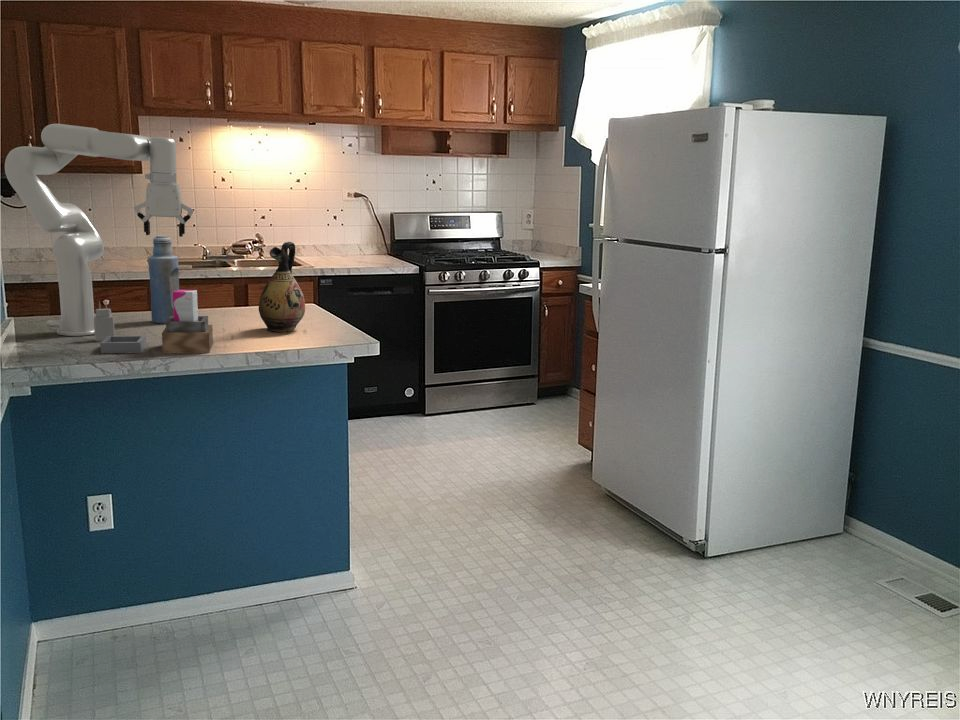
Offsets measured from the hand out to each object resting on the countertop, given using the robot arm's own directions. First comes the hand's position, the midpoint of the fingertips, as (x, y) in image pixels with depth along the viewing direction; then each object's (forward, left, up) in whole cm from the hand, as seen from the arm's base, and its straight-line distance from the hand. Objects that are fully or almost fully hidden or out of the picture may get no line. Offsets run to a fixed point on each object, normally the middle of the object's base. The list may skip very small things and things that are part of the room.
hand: (164, 235), depth 253 cm
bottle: (-4, +30, -32) cm, 44 cm away
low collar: (-10, -17, -32) cm, 38 cm away
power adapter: (-18, -2, -32) cm, 37 cm away
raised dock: (+8, -17, -32) cm, 37 cm away
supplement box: (+7, -17, -26) cm, 32 cm away
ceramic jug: (+36, +13, -32) cm, 50 cm away
